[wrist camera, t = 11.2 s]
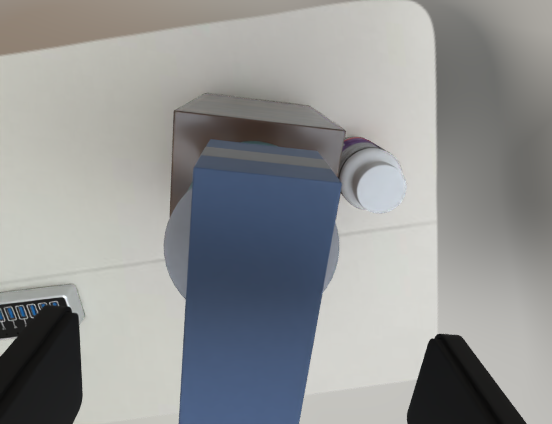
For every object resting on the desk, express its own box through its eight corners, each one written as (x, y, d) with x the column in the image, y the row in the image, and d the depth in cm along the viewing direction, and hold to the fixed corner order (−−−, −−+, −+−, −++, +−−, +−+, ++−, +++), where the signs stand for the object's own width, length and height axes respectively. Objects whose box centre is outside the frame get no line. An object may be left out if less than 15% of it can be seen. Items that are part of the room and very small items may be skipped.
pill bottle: (384, 179, 42) (421, 211, 33) (333, 195, 42) (356, 230, 33) (373, 128, 40) (408, 146, 31) (320, 144, 41) (340, 167, 31)
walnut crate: (204, 92, 38) (173, 110, 23) (310, 105, 39) (346, 130, 24) (198, 195, 42) (167, 268, 27) (296, 204, 43) (319, 280, 27)
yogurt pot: (191, 130, 24) (166, 156, 17) (325, 146, 24) (353, 176, 18) (184, 254, 26) (161, 320, 20) (306, 265, 27) (324, 332, 20)
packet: (209, 138, 17) (192, 166, 12) (318, 150, 17) (343, 182, 12) (195, 343, 20) (177, 428, 15) (287, 349, 20) (297, 434, 16)
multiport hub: (85, 318, 46) (77, 331, 43) (-46, 334, 45) (-61, 348, 43) (75, 283, 44) (65, 294, 42) (-61, 300, 44) (-78, 312, 42)
